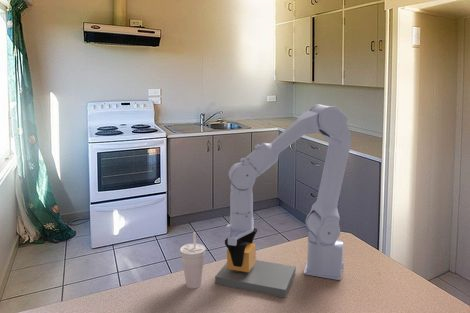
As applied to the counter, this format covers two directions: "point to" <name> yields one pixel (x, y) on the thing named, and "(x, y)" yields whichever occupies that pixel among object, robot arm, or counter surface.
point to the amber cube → (244, 259)
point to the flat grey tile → (259, 278)
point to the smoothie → (193, 262)
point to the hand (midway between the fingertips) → (241, 260)
